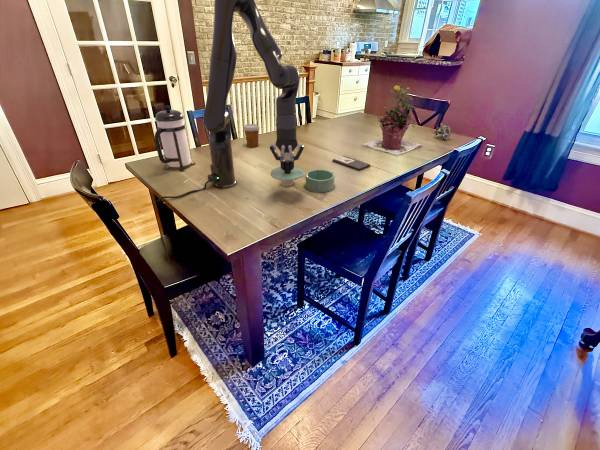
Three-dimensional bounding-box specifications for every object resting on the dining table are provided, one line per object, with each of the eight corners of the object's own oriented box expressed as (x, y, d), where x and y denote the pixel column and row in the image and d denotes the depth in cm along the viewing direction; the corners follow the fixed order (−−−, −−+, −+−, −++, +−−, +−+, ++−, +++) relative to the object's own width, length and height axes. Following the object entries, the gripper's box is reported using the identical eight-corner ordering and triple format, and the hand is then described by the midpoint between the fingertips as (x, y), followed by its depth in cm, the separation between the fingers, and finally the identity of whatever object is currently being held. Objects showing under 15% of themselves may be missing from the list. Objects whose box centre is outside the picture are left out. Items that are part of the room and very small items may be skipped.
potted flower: (396, 155, 172) (408, 88, 153) (362, 145, 188) (369, 83, 169) (421, 146, 187) (435, 83, 168) (387, 137, 203) (396, 79, 184)
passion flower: (443, 148, 201) (446, 136, 190) (428, 142, 206) (430, 130, 195) (452, 135, 203) (456, 123, 192) (436, 130, 208) (439, 117, 197)
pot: (305, 192, 132) (305, 180, 129) (305, 180, 142) (305, 169, 140) (334, 192, 132) (335, 180, 129) (332, 180, 142) (333, 169, 139)
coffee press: (161, 164, 160) (146, 103, 144) (193, 159, 165) (182, 101, 150) (163, 175, 147) (146, 110, 131) (197, 171, 152) (185, 107, 136)
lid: (269, 182, 118) (268, 167, 115) (272, 168, 129) (271, 155, 126) (304, 181, 118) (304, 167, 115) (304, 168, 129) (304, 155, 126)
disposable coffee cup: (263, 145, 187) (262, 125, 181) (251, 149, 181) (250, 128, 175) (253, 142, 193) (252, 123, 186) (241, 145, 187) (239, 125, 180)
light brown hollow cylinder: (287, 187, 136) (286, 147, 126) (278, 184, 139) (277, 145, 129) (295, 183, 139) (295, 145, 130) (287, 180, 142) (286, 142, 133)
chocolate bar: (359, 168, 152) (332, 159, 163) (359, 170, 153) (332, 161, 164) (370, 164, 157) (343, 155, 169) (370, 166, 158) (343, 157, 169)
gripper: (304, 123, 116) (304, 166, 125) (268, 123, 116) (270, 166, 125) (305, 128, 110) (304, 173, 119) (266, 128, 110) (269, 173, 119)
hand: (287, 169), depth 122 cm, fingers closed on lid, 2 cm apart
